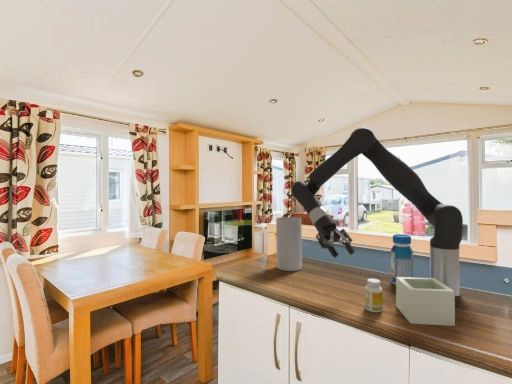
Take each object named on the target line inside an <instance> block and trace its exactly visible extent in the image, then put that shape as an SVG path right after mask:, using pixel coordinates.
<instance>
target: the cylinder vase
mask: <svg viewBox="0 0 512 384" xmlns="http://www.w3.org/2000/svg"><path fill="white" fill-rule="evenodd" d="M275 222H276V223H275V225H276V227H275V228H276V230H275V231H276V235H275V236H276V268H277V269H278V270H279V271H282V270H283V272H297V271H300V270H302V267H303V256H302V255H303V249H302V248H303V245H302V243H303V241H302V236H303V235H302V234H303V233H302V232H303V231H302V218H301V217H297V216H281V217H277V218H276V219H275Z"/></svg>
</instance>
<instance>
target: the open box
mask: <svg viewBox="0 0 512 384" xmlns="http://www.w3.org/2000/svg"><path fill="white" fill-rule="evenodd" d="M395 292H396V293H395V295H396V296H395V297H396V299H395V300H396V301H395V302H396V303H395V304H396V305H395V306H396V308H397V309H398V310H399V311H400V313H401V314H402V315H403V317H405V319H406V320H407V321H408V323H409V324H410V323H411V324H413V325H414V324H415V325H433V326H450V327H451V326H453V327H455V326H456V323H455V322H456V319H455V318H456V307H455V306H456V303H455V302H456V301H455V300H456V297H455V291H453V290H452V289H450V288H449V287H447V286H446V285H444V284H443V283H441V282H440V281H438V280H437V279H435V278H430V277H414V276H413V277H396V285H395Z"/></svg>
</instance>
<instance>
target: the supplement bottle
mask: <svg viewBox="0 0 512 384" xmlns="http://www.w3.org/2000/svg"><path fill="white" fill-rule="evenodd" d="M366 284H367V285H365V287H364V308H365V310H366V311H368V312H371V313H381V312H382V311H383V302H384V299H383V296H384V295H383V294H384V293H383V288H382V287H381V280H379V279H377V278H368V279H367V281H366Z"/></svg>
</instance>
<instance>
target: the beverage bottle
mask: <svg viewBox="0 0 512 384" xmlns="http://www.w3.org/2000/svg"><path fill="white" fill-rule="evenodd" d="M392 243H393V244H394V245H393V246H392V247H391V249H390V253H391V255H390V262H391V264H390V265H391V267H390V268H391V269H390V270H391V271H390V272H391V274H390V275H391V277H390V282H391V283H392V284H394V285H395V286H396V277H414V256H413V254H414V250H413V249H412V246H411V244H412V235H409V234H402V233H401V234H399V233H397V234H395V233H394V234H393V235H392Z"/></svg>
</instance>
